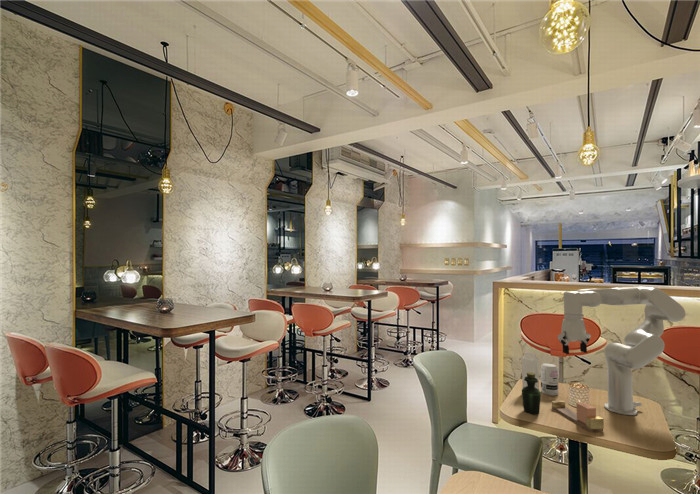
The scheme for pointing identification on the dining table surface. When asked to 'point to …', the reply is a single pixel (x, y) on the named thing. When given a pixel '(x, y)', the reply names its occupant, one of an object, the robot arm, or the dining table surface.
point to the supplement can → (549, 379)
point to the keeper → (585, 411)
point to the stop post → (595, 422)
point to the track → (570, 414)
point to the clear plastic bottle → (530, 367)
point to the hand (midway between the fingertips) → (574, 352)
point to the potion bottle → (531, 395)
